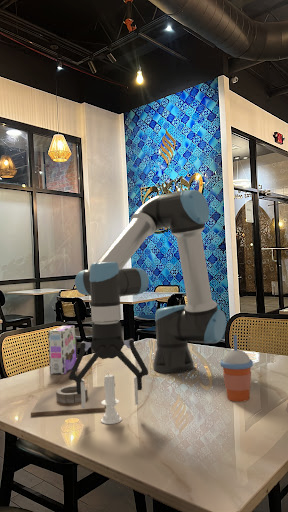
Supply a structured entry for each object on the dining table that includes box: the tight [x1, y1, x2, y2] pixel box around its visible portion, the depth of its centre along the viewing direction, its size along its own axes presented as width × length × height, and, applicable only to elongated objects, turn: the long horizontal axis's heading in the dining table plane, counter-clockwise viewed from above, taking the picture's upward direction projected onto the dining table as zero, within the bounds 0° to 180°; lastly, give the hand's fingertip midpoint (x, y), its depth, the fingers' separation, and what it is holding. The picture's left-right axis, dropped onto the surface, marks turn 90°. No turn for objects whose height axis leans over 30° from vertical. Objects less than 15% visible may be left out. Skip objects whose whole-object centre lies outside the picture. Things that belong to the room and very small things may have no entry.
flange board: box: [30, 384, 106, 417], centre depth 123 cm, size 20×20×4 cm
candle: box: [100, 373, 123, 425], centre depth 107 cm, size 5×5×12 cm
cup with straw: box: [220, 334, 254, 403], centre depth 119 cm, size 9×9×18 cm
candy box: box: [47, 325, 77, 375], centre depth 162 cm, size 14×6×16 cm, turn 168°
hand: (110, 404), depth 107 cm, fingers open, 13 cm apart
